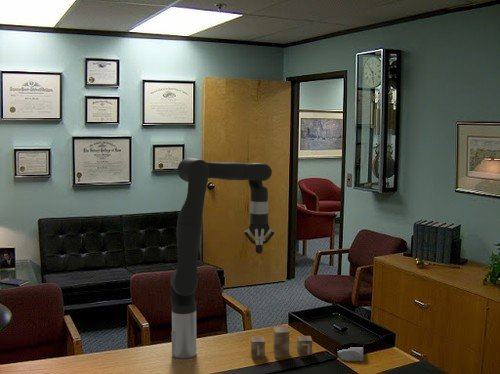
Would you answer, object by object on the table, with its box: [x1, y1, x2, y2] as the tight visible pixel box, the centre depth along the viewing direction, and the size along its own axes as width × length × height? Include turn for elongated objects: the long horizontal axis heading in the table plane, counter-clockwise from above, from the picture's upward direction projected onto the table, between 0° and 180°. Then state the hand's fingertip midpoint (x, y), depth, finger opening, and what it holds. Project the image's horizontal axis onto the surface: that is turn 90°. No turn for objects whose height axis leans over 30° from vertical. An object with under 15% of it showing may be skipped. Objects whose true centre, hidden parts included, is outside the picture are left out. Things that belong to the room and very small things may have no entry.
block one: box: [250, 336, 266, 359], centre depth 219 cm, size 5×5×6 cm
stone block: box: [336, 346, 364, 362], centre depth 221 cm, size 12×5×10 cm
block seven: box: [296, 335, 313, 357], centre depth 220 cm, size 5×5×6 cm
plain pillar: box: [273, 326, 290, 359], centre depth 220 cm, size 6×6×10 cm
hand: (259, 253), depth 237 cm, fingers closed
